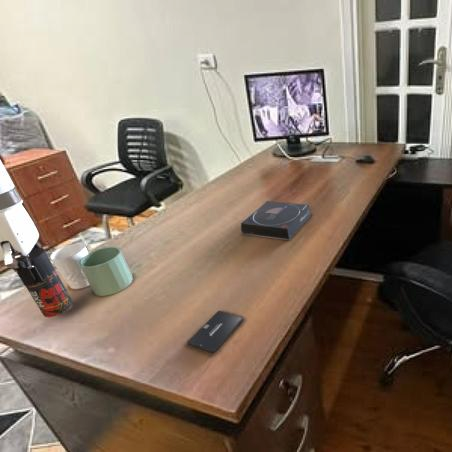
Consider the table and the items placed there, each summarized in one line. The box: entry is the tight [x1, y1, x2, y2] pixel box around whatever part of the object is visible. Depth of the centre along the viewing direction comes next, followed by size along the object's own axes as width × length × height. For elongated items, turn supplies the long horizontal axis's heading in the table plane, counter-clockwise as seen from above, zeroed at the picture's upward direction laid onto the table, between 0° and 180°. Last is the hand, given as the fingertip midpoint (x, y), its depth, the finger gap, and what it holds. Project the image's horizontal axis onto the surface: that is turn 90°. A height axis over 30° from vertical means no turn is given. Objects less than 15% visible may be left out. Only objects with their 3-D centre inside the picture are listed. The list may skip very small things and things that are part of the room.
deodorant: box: [15, 247, 74, 318], centre depth 78 cm, size 6×6×15 cm
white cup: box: [49, 242, 90, 290], centre depth 94 cm, size 8×8×10 cm
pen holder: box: [79, 246, 134, 297], centre depth 92 cm, size 9×9×9 cm
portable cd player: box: [240, 200, 312, 241], centre depth 114 cm, size 16×17×4 cm
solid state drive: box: [186, 310, 244, 355], centre depth 75 cm, size 7×10×1 cm
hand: (38, 274), depth 77 cm, fingers closed on deodorant, 6 cm apart
